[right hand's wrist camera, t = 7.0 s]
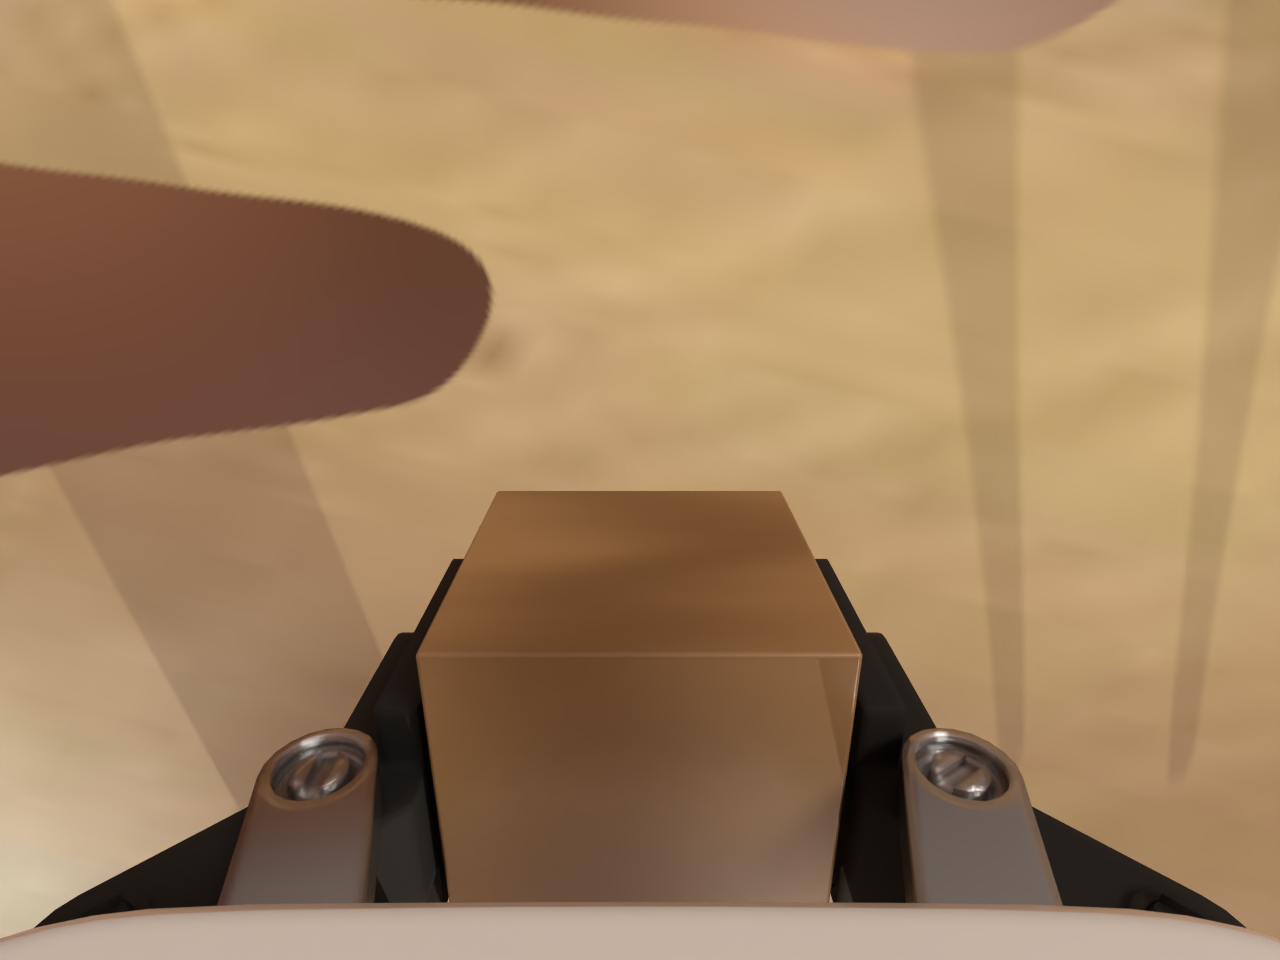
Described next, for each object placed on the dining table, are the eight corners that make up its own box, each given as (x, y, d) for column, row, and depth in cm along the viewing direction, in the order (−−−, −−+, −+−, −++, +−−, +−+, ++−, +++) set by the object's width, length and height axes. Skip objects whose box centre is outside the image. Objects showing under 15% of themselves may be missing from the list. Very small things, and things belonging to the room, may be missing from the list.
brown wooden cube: (782, 489, 12) (864, 654, 7) (762, 734, 13) (819, 981, 9) (496, 489, 12) (413, 654, 7) (516, 734, 13) (459, 980, 9)
